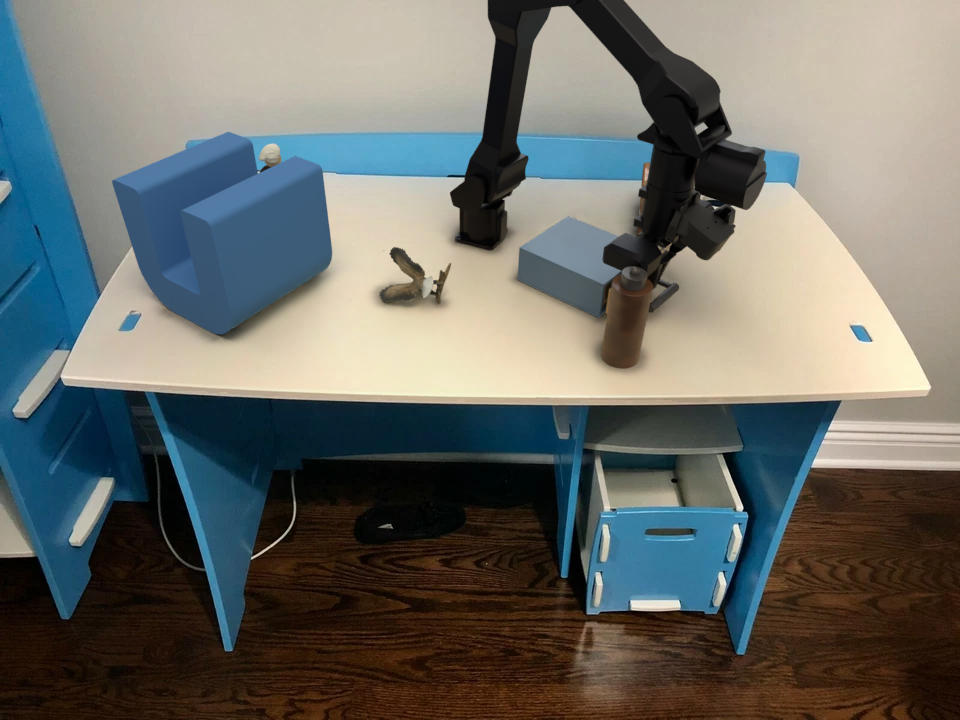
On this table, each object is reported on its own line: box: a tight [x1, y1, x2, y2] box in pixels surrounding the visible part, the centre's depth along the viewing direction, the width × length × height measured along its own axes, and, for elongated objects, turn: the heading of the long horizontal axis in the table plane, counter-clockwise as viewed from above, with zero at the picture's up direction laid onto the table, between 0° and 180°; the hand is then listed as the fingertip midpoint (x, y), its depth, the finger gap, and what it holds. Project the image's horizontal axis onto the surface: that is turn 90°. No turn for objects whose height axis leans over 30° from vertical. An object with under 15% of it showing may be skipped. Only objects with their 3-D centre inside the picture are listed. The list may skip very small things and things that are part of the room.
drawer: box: [602, 274, 680, 315], centre depth 106 cm, size 18×11×4 cm, turn 50°
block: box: [111, 131, 333, 335], centre depth 100 cm, size 18×18×18 cm
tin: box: [636, 161, 650, 235], centre depth 121 cm, size 15×3×8 cm, turn 168°
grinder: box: [600, 266, 654, 369], centre depth 92 cm, size 5×5×13 cm
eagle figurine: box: [379, 246, 452, 304], centre depth 104 cm, size 8×7×9 cm
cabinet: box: [517, 215, 622, 319], centre depth 108 cm, size 14×12×6 cm
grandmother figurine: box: [258, 143, 282, 173], centre depth 118 cm, size 8×4×13 cm, turn 58°
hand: (650, 288), depth 102 cm, fingers closed
